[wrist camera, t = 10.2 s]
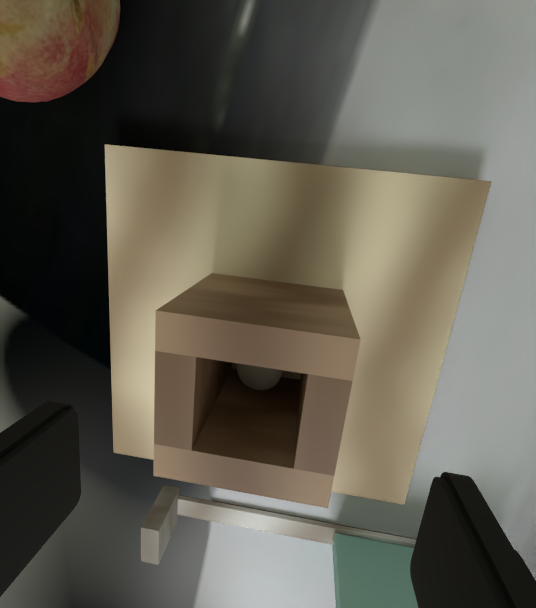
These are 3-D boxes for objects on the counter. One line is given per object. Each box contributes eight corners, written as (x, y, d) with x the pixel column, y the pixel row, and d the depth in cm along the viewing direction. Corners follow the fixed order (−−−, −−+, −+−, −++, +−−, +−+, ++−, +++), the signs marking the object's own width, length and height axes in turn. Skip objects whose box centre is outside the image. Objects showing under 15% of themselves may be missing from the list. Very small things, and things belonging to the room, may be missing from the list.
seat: (630, 198, 14) (755, 195, 10) (485, 577, 20) (528, 669, 16) (119, 148, 16) (55, 130, 12) (125, 507, 22) (84, 574, 18)
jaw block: (343, 290, 15) (360, 339, 10) (323, 407, 17) (328, 507, 11) (211, 272, 16) (155, 310, 10) (205, 388, 18) (153, 475, 12)
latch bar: (481, 556, 19) (539, 678, 14) (473, 577, 20) (527, 703, 15) (336, 529, 20) (343, 636, 15) (331, 550, 20) (337, 660, 15)
